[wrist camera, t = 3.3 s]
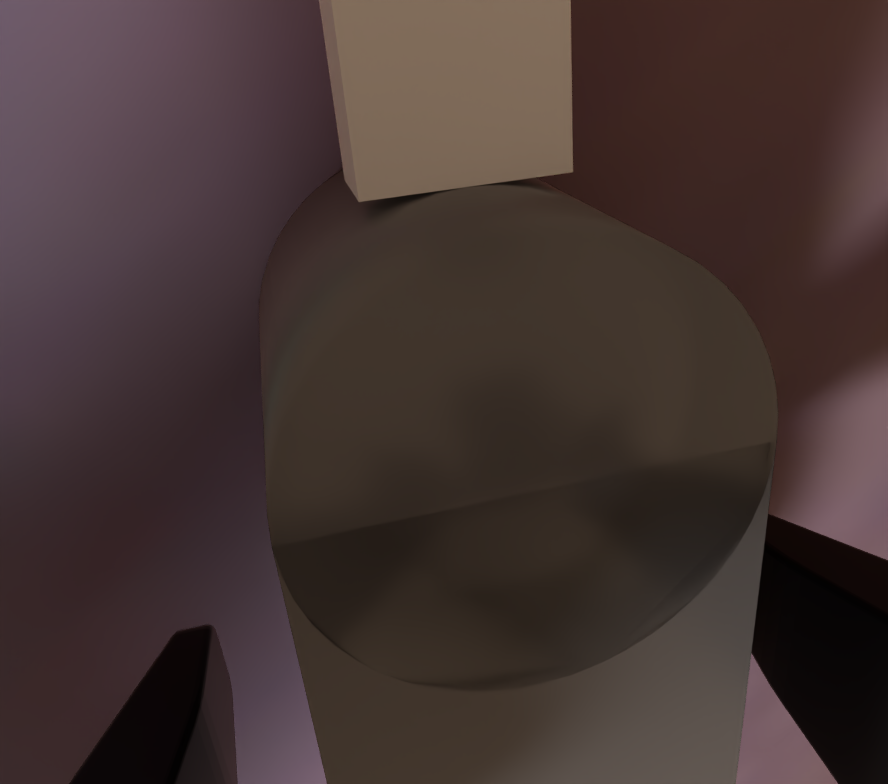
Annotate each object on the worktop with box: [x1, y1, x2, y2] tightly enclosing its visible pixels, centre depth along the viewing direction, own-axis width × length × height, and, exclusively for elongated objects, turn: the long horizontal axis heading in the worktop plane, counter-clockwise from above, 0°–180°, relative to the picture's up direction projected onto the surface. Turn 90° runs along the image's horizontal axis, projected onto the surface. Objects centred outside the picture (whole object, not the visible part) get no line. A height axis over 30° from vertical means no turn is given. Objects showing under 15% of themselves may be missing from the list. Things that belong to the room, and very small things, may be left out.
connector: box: [259, 0, 778, 784], centre depth 8 cm, size 12×4×4 cm, turn 5°
